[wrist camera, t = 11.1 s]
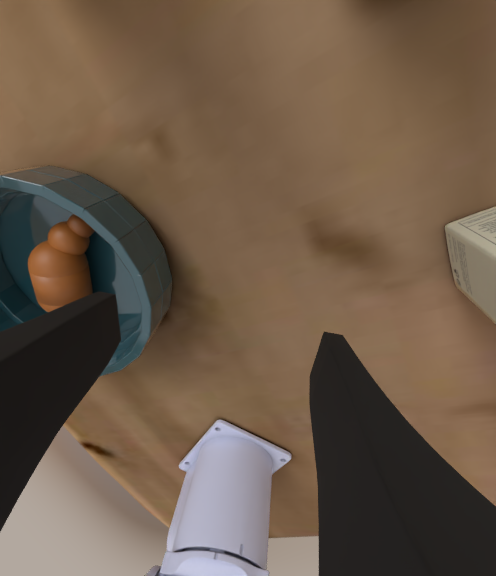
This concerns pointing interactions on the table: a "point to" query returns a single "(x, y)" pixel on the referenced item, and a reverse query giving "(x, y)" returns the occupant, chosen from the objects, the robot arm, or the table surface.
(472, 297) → the cosmetic box
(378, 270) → the table surface
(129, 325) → the bowl
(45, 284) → the croissant
